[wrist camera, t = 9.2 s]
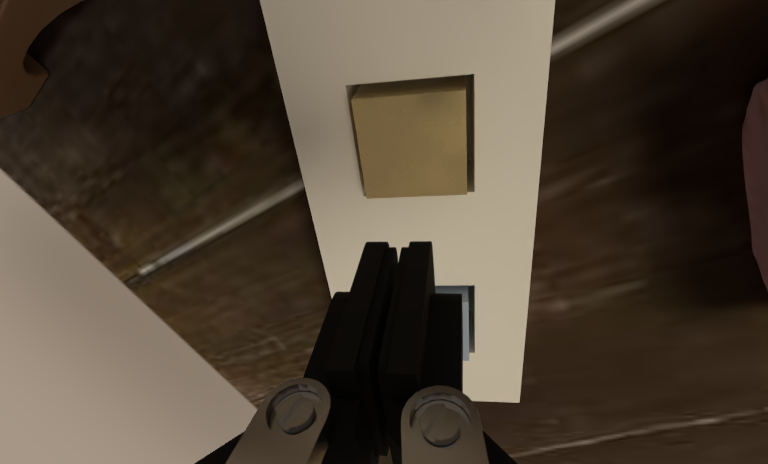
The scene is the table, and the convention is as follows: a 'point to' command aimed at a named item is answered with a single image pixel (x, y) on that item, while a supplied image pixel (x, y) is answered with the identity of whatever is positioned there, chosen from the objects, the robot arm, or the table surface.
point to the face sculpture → (757, 172)
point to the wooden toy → (23, 49)
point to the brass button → (412, 137)
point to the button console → (484, 149)
